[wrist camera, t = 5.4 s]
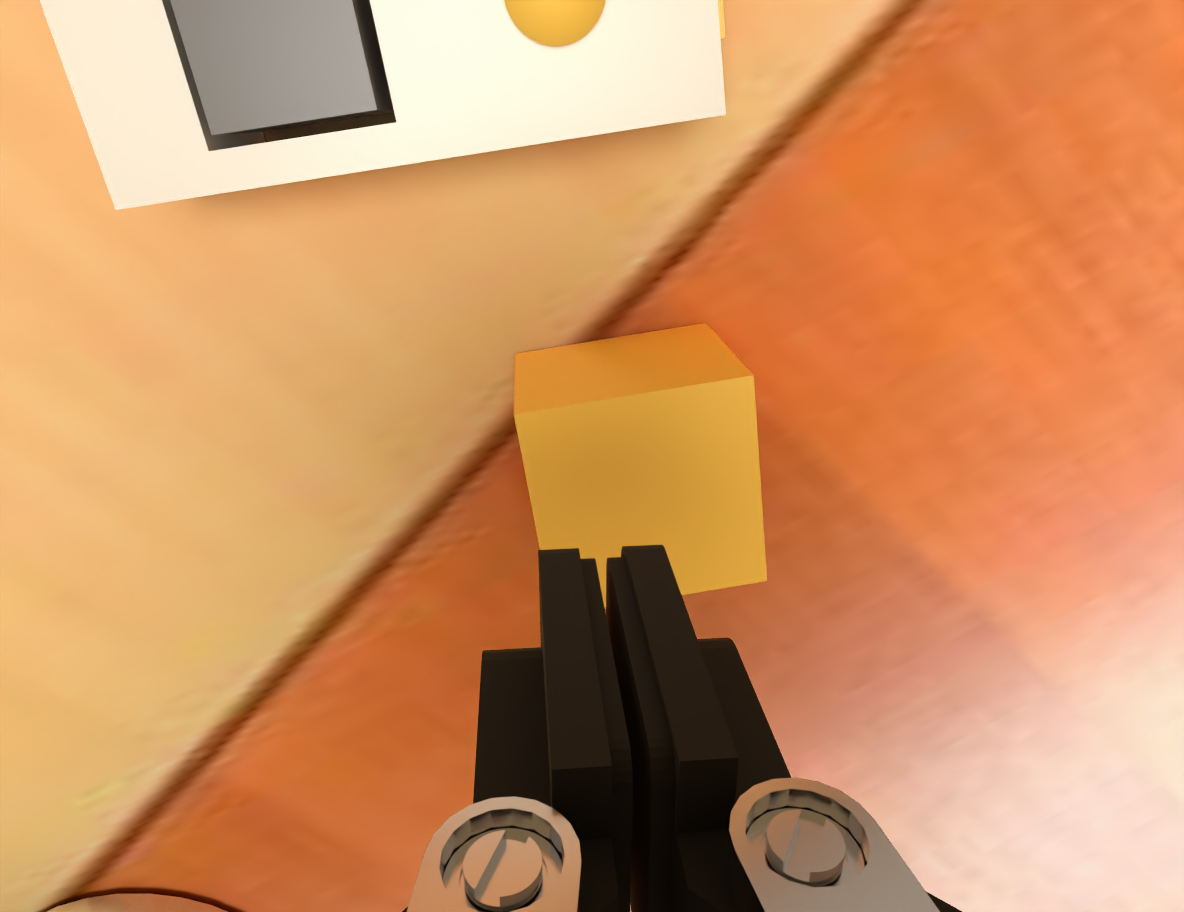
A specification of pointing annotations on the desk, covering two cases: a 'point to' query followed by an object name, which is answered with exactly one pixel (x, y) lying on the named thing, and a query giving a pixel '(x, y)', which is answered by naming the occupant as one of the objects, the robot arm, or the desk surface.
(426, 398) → the desk surface
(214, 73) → the button
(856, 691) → the desk surface
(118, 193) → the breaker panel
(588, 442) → the cap
